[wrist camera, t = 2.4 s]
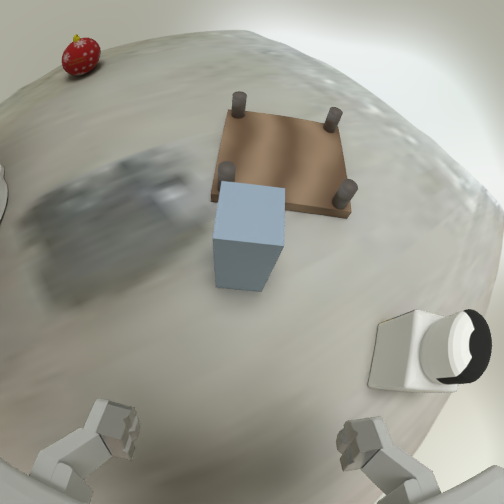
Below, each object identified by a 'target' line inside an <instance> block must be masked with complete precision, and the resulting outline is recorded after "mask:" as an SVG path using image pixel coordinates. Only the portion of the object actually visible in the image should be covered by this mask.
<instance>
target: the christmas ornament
mask: <svg viewBox="0 0 504 504" xmlns="http://www.w3.org/2000/svg"><path fill="white" fill-rule="evenodd" d="M100 54H101V51H100V47H99V45H98V43H97V42H96V41H95V40H93V39H90V38H79V36H78V35H75V36H74V39H73V42H72V43H71V44H70V45H69V46H68V47H67V48H66V49H65V51H64V53H63V56H62V66H63V68H64V70H65V71H66V72H67V73H69V74H71V75H83V74H86V73H88V72H89V71H91V70H92V69H93V68H94V67H95V66H96V65H97V63H98V61H99V59H100Z"/></svg>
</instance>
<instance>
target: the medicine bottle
mask: <svg viewBox="0 0 504 504" xmlns="http://www.w3.org/2000/svg"><path fill="white" fill-rule="evenodd" d="M491 349H492V339H491V333H490V329H489V326H488V324H487V322H486V320H485V319H484V318H483V316H482V315H480V314H479V313H478V312H476V311H475V310H471V309H468V310H464V311H461V312H459V313H456V314H453V315H450V316H448V317H444V316H440V315H437V314H433V313H429V312H425V311H422V310H418V309H416V310H413V311H410V312H408V313H405V314H403V315H400V316H398V317H395V318H392V319H390V320H387V321H384V322H382V323H380V324H379V326H378V332H377V339H376V345H375V351H374V357H373V362H372V367H371V372H370V377H369V382H368V386H369V387H370V388H377V389H385V390H394V391H405V392H418V393H445V392H456V391H457V389H458V384H464V383H471V382H474V381H476V380H477V379H479V378H480V376H481V375H482V374H483V372H484V371H485V370H486V368H487V366H488V363H489V360H490V356H491Z"/></svg>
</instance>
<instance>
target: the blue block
mask: <svg viewBox="0 0 504 504" xmlns="http://www.w3.org/2000/svg"><path fill="white" fill-rule="evenodd" d="M284 227H285V188H278V187H270V186H262V185H254V184H245V183H236V182H227V181H222V182H221V188H220V194H219V200H218V206H217V213H216V219H215V226H214V233H213V252H214V267H215V281H216V287H220V288H229V289H239V290H249V291H260V292H261V291H262V289H263V287H264V285H265V283H266V281H267V279H268V277H269V275H270V273H271V271H272V269H273V267H274V265H275V263H276V261H277V259H278V257H279V255H280V253H281V251H282V249H283V247H284Z"/></svg>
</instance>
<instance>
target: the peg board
mask: <svg viewBox="0 0 504 504" xmlns="http://www.w3.org/2000/svg"><path fill="white" fill-rule="evenodd" d="M246 97H247V95H246V93H244V92H235V93H233V99H232V110H228V112H227V117H226V121H225V126H224V131H223V135H222V140H221V145H220V150H219V155H218V160H217V165H216V170H215V175H214V180H213V186H212V191H211V202H218V200H219V194H220V188H221V182H222V181H227V182H236V183H245V184H254V185H262V186H270V187H278V188H285V210H290V211H298V212H305V213H312V214H320V215H326V216H333V217H340V218H346V219H347V218H348V216H349V215H350V214H351V203H350V200H351V199H352V197H353V196H354V194H355V193H356V192H357V190H358V186H357V184H356V183H355V182H354V181H353V180H351V179H347V175H346V168H345V162H344V156H343V151H342V145H341V140H340V135H339V129H338V126H337V125H338V123H339V121H340V118H341V116H342V114H343V112H342V111H341V110H340V109H339V108H336V107H331V108H330V110H329V113H328V116H327V118H326V121H325V123H319V122H314V121H309V120H303V119H298V118H292V117H286V116H279V115H272V114H265V113H257V112H248V111H245V106H246Z"/></svg>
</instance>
